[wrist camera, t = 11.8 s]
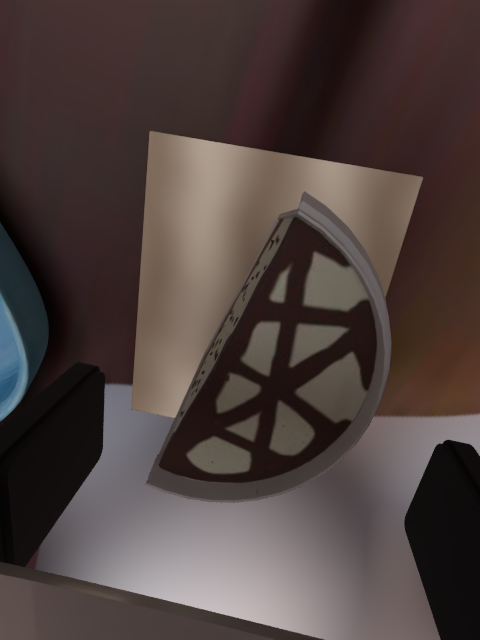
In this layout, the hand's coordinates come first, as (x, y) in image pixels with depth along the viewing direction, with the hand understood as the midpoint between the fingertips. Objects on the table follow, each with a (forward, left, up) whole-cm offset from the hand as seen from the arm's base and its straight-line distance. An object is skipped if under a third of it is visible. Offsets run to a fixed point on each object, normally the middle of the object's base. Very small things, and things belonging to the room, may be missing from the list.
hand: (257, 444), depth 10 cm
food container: (-1, 0, -12) cm, 12 cm away
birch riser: (+1, 0, -16) cm, 16 cm away
